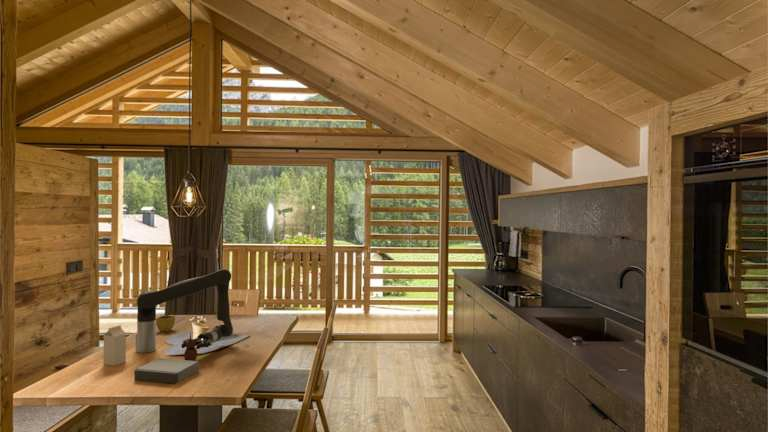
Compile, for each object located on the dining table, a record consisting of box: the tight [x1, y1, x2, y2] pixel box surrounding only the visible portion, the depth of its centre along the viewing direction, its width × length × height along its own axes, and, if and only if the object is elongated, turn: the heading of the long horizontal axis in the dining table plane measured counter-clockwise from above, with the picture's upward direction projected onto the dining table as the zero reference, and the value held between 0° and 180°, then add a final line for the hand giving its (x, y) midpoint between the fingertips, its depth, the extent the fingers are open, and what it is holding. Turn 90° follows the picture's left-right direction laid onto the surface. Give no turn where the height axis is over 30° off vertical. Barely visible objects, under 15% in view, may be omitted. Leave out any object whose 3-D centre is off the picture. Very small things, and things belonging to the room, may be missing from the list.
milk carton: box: [103, 324, 127, 367], centre depth 239 cm, size 7×7×19 cm
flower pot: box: [156, 314, 176, 333], centre depth 303 cm, size 9×9×9 cm
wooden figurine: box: [183, 332, 198, 361], centre depth 241 cm, size 7×6×15 cm
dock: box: [133, 357, 200, 385], centre depth 222 cm, size 22×17×5 cm
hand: (189, 346), depth 240 cm, fingers open, 8 cm apart
